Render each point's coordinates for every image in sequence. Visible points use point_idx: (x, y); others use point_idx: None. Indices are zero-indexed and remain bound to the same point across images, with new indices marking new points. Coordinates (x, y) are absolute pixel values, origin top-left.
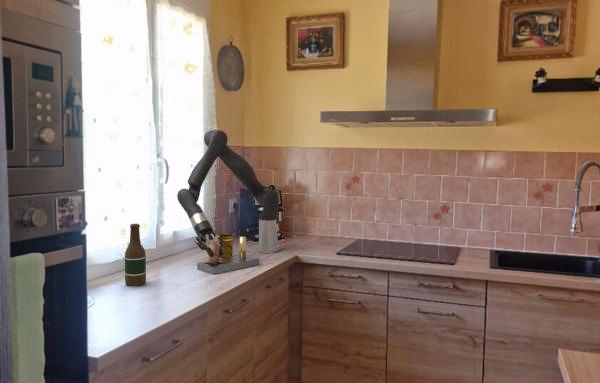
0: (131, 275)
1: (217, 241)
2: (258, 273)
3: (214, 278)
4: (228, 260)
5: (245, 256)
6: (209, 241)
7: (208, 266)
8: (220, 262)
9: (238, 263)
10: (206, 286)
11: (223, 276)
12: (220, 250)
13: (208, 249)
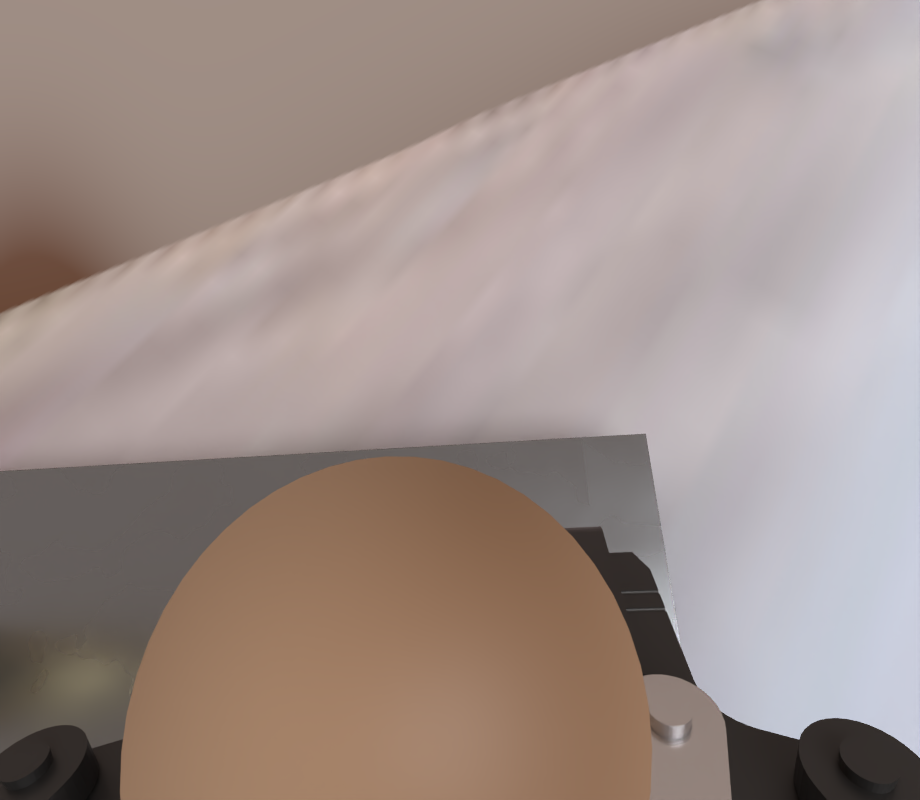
0: None
1: (375, 464)
2: (229, 235)
3: (691, 318)
4: None
5: None
6: (640, 796)
7: (664, 551)
8: None
9: (192, 464)
10: (887, 142)
11: (564, 330)
12: None
13: (667, 674)
